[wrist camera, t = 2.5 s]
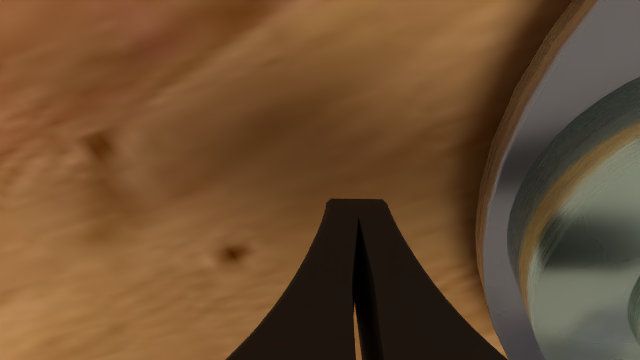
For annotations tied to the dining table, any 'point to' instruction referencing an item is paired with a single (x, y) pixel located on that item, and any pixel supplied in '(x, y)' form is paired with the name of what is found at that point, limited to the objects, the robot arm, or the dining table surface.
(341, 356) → the robot arm
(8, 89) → the dining table surface
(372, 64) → the dining table surface
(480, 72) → the dining table surface
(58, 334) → the dining table surface
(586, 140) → the cover
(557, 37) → the turntable platter
